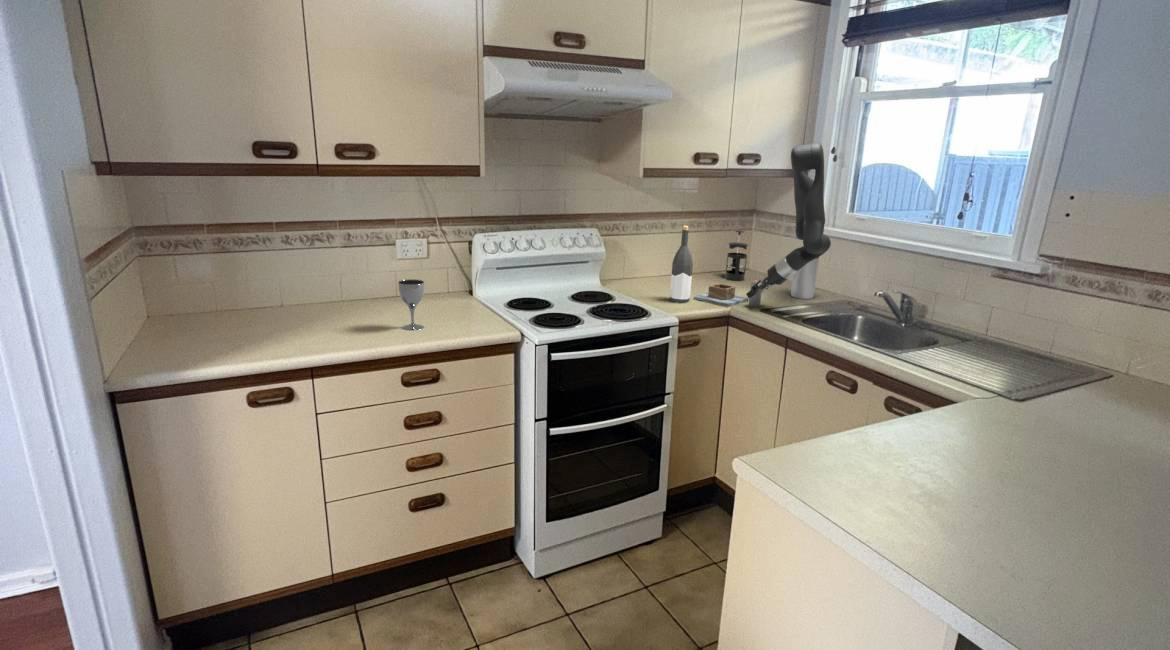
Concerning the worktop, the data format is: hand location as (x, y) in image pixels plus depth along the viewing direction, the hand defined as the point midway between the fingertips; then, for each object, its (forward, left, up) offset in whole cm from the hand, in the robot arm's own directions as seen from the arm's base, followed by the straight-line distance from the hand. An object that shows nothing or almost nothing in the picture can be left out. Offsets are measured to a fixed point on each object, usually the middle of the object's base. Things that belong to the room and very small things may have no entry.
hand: (751, 295), depth 250 cm
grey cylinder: (0, +2, -4) cm, 5 cm away
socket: (+2, -12, -4) cm, 13 cm away
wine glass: (+118, -56, -4) cm, 131 cm away
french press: (-41, -31, -4) cm, 52 cm away
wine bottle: (+17, -22, -4) cm, 28 cm away
